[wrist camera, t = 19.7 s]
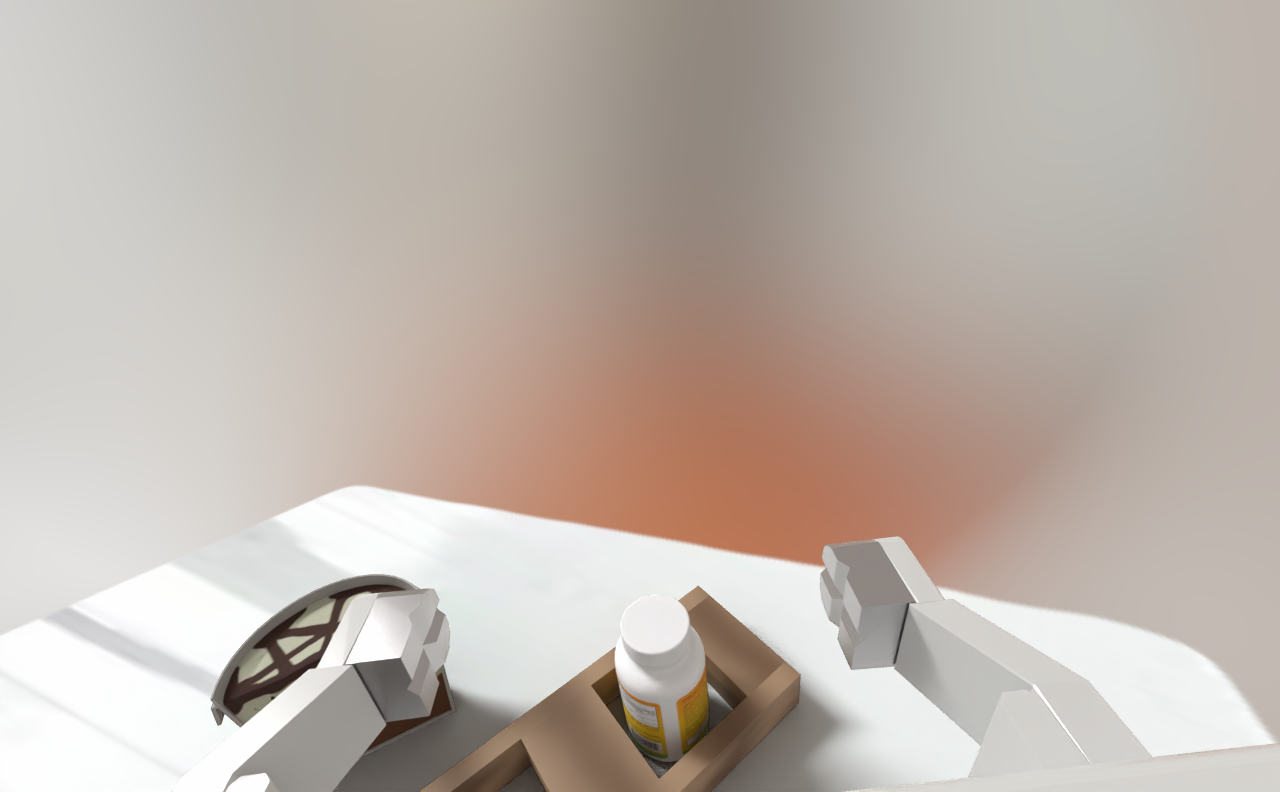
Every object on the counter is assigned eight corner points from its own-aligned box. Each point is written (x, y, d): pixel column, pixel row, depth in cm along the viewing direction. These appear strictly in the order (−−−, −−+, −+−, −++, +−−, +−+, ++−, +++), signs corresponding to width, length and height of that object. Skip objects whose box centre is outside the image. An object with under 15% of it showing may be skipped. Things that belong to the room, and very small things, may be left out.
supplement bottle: (699, 673, 37) (691, 576, 32) (719, 755, 32) (713, 656, 28) (624, 687, 37) (604, 591, 32) (632, 772, 32) (611, 674, 27)
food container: (463, 633, 42) (425, 541, 37) (477, 700, 37) (435, 604, 32) (290, 710, 38) (222, 618, 33) (280, 797, 33) (198, 704, 28)
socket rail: (395, 1110, 22) (369, 1094, 20) (349, 883, 29) (327, 858, 27) (798, 702, 35) (800, 674, 33) (700, 612, 41) (698, 585, 40)
